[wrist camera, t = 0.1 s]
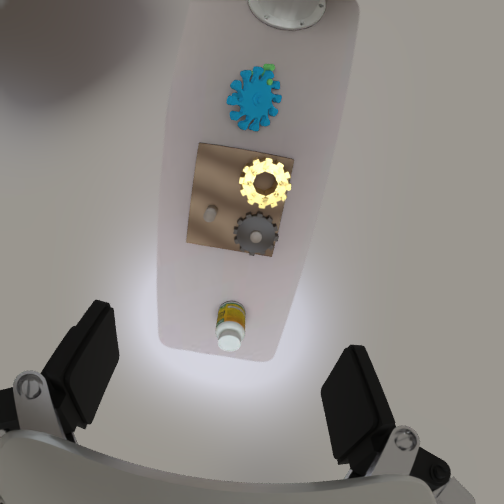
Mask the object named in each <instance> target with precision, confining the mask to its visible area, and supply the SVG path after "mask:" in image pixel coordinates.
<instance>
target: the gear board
mask: <svg viewBox="0 0 504 504" xmlns="http://www.w3.org/2000/svg"><path fill="white" fill-rule="evenodd" d="M265 156H270V157H271V158H272V161H273V162H275V160H276V159H277V160H278V161H280V162H281V163H282V164H283V165H284V167H283V169H284V168H286V170H287V171H288V172H289V175H290V177H291V173H292V168H293V164H294V159H290V158H286V157H281V156H276V155H271V154H266V153H261V152H256V151H250V150H244V149H238V148H232V147H226V146H219V145H213V144H205V143H199V146H198V152H197V159H196V166H195V173H194V180H193V187H192V195H191V203H190V212H189V221H188V230H187V240H186V243H192V244H198V245H204V246H210V247H216V248H222V249H228V250H234V251H240V252H246V253H249V255H252V256H254V254H258V255H264V256H269V257H272V254H273V250H274V246H275V242H276V241H278V234H277V233H278V229H279V225H280V221H281V216H282V212H283V208H284V203H285V200H284V201H282V200H280V201H277V205H278V206H275V207H273V208H272V207H271V204H269V205H267V206H265V209H264V208H259V206H258V203H256V202H254V203H253V205H251V204H250V203H248V202H247V195H244V196H242V193H241V191H240V189H241V185H242V184H239V182H240V175H241V173H244V174H245V172H244V171H243V167H244V166H245V165H246V163H248V164H250V163H253V158H255V157H258V158H259V160H261V159H263V158H264V157H265ZM275 180H276V178H275V176H274V175H273V174H271V173H269V172H266V171H265V172H262V173H260V174H257V175H256V177H255V179H254V181H253V182H254V184H255V186H256V187H257V188H260V189H262V190H266V189H269V188H271V187H273V184H274V182H275ZM287 180H288V181H290V178H288V179H287ZM285 193H286V195H287V190H286V191H285Z"/></svg>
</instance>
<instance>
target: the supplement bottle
mask: <svg viewBox="0 0 504 504" xmlns="http://www.w3.org/2000/svg"><path fill="white" fill-rule="evenodd" d="M216 336H217V338H218V345H219V347H220V348H221V349H223V350H225V351H235V350H237V349H238V348H239V347H240V345H241V341H242V340H243V338H244V336H245V309H244V308H243V306H242V305H241V304H239V303H237V302H233V301H230V302H226V303H224V304H222V305H221V306H220V308H219V312H218V318H217V325H216Z"/></svg>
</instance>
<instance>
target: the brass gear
mask: <svg viewBox="0 0 504 504" xmlns="http://www.w3.org/2000/svg"><path fill="white" fill-rule="evenodd" d="M283 167H284V165H283V164H282V163H281V162H280V161H278V160H277V159H276V160H275V162H273V161H272V158H271V157H270V156H265V157H264V158H263V159H261V160H259V158H258V157H255V158H253V163H250V164H248V163H246V165H245V166H244V167H243V171H244V172H245V174H244V173H241V175H240V182H239V184H242V185H241V189H240V191H241V193H242V196H244V195H247V202H248V203H250V204H251V205H253V203H254V202H256V203H258V206H259V208H264V209H265V206H267V205H269V204H271V207H272V208H273V207H275V206H278V205H277V201H280V200H282V201H284V200H285V199H286V198H287V195H286V193H285V191H286V190H290V189H291V183H290V182H289V181H288V180H287V179H288V178H291V177H290V175H289V172H288V171H287V170H286V168H284V169H283ZM265 171H266V172H269V173H271V174H273V175H274V176H275V178H276V180H275V182H274V184H273V187H271V188H269V189H266V190H262V189H260V188H257V187H256V186H255V184H254V182H253V181H254V179H255V177H256V175H257V174H260V173H262V172H265Z"/></svg>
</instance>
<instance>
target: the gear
mask: <svg viewBox="0 0 504 504" xmlns="http://www.w3.org/2000/svg"><path fill="white" fill-rule="evenodd" d="M263 68H264V69H263ZM263 68H261V67H255V66H254V68H253V71H251V70H243V71H241V72H240V75H241V77H242V78H243V89H242V83H241V81H239V80H234V81H233V82H232V83H231V85H230V87H231V88H232V89H234V90H236V91H237V92H238V93H232V96H228V98H227V104H228V105H239V106H240V108H241V109H240V111H239V112H237V111H231V112H230V118H231V120H235V121H237V120H238V119H239V118H240V117H241V116H243V115H246V119H245V120H243V121H239V122H238V126H239V128H240V129H242V130H246V129H247V128H248V125H249V123H250V122H251V121H252V120H253V119H254V121H253V123H251V124H250V126H249V129H250V130H253V131H258V130H259V122H260V125H261V126H268V125H270V120H269V118H268V109H269V115H270V116H274V117H275V116H276V115H277V113H278V109H276V108H274V106H273V104H272V99H273V101H274V102H277V103H280V102H281V98H282V96H281V95H277V94H275V95H274V94H273V93H272V92H271V89H272V88H273V89H280V82H279V81H273V80H272V78H273V77H274V74H273V72H272V71H273V70H274V69H275V66H274V65H273V64H264V66H263ZM269 70H270V71H269ZM251 75H253V77H252V79H251V81H249V79H250V77H251ZM238 99H239V100H238ZM261 117H262V119H261ZM260 119H261V121H260Z"/></svg>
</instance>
